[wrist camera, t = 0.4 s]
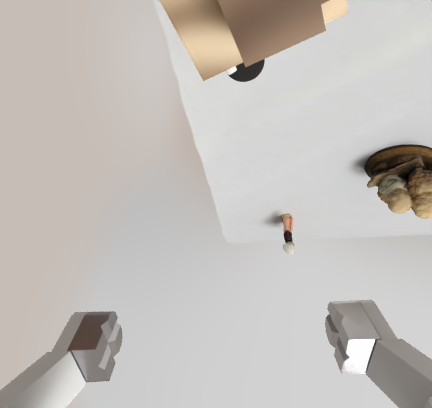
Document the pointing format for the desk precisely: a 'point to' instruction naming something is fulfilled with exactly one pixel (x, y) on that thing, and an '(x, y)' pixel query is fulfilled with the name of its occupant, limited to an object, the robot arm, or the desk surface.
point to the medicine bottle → (245, 71)
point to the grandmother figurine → (288, 233)
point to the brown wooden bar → (271, 25)
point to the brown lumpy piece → (397, 185)
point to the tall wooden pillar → (218, 32)
